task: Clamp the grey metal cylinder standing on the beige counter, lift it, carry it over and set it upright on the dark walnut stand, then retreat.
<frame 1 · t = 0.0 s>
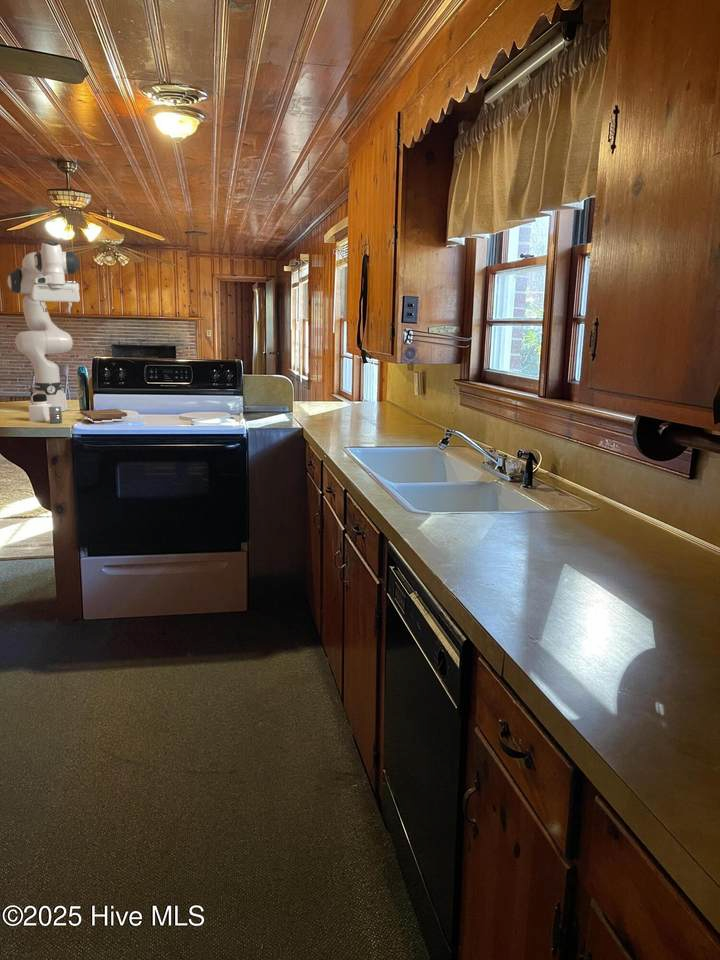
hand: (56, 312, 313), 48 cm above the countertop, fingers open, 8 cm apart
grey metal cylinder: (56, 422, 314), on the countertop
walnut stand: (104, 420, 322), on the countertop
medicine bottle: (41, 420, 320), on the countertop
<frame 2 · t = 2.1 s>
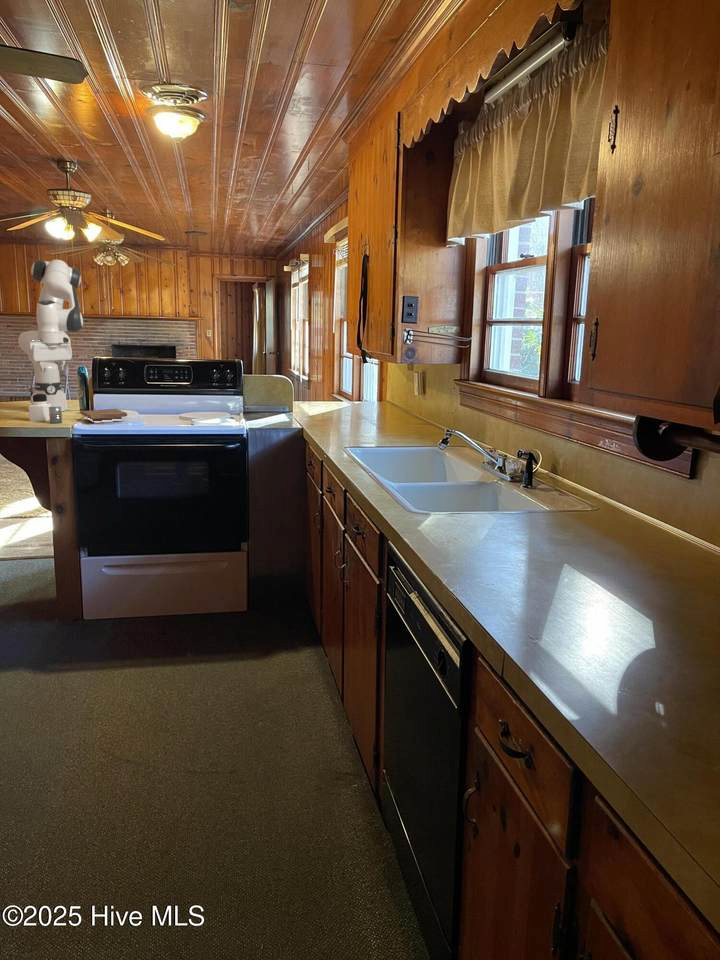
hand: (51, 371, 308), 23 cm above the countertop, fingers open, 8 cm apart
nothing on the countertop moved.
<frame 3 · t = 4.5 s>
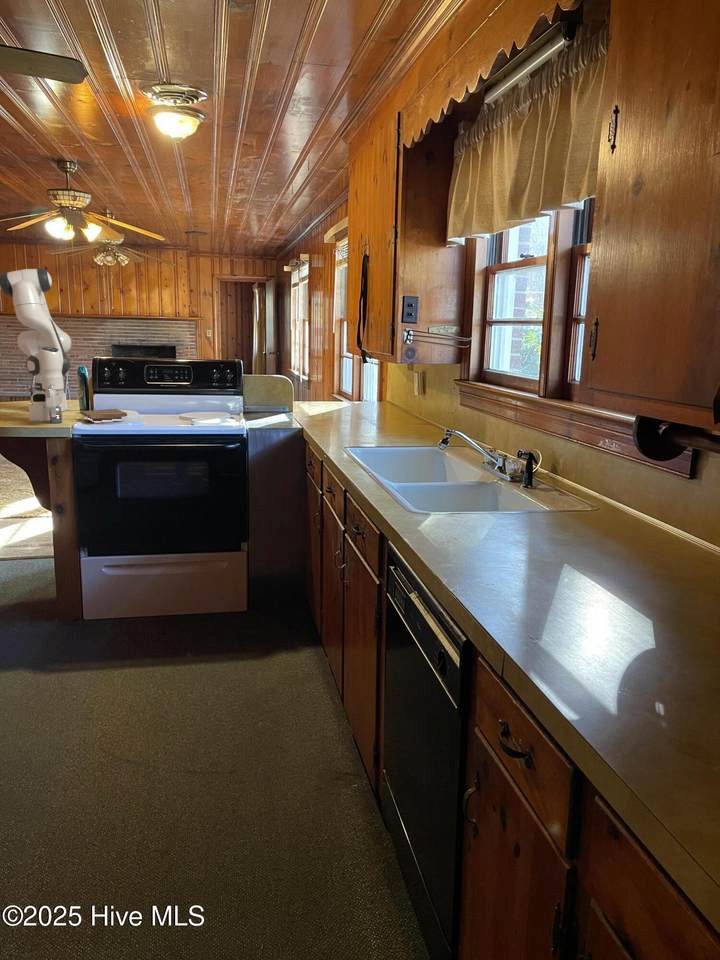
hand: (55, 415, 313), 3 cm above the countertop, fingers closed on grey metal cylinder, 5 cm apart
grey metal cylinder: (56, 422, 314), on the countertop, touching gripper
everything else where it was.
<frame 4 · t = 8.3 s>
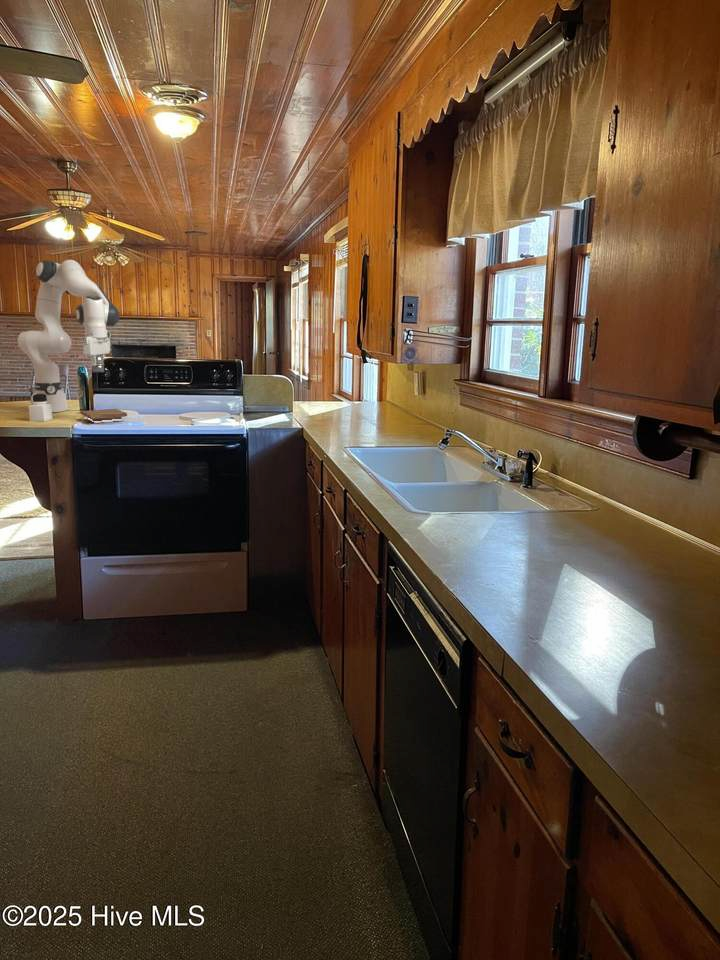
hand: (97, 365, 315), 25 cm above the countertop, fingers closed on grey metal cylinder, 5 cm apart
grey metal cylinder: (98, 372, 316), point 22 cm above the countertop, touching gripper
everything else where it was.
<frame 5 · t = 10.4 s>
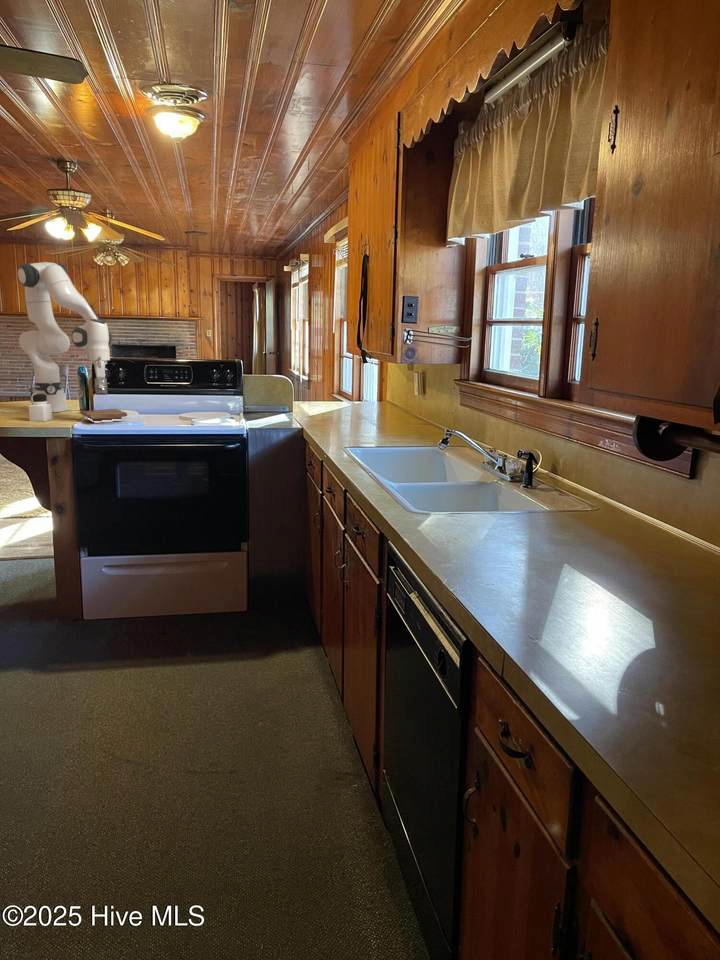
hand: (101, 387, 318), 15 cm above the countertop, fingers closed on grey metal cylinder, 5 cm apart
grey metal cylinder: (101, 394, 318), point 12 cm above the countertop, touching gripper
everything else where it was.
when the fingers open (9 cm above the countertop, at t = 12.2 s): grey metal cylinder drops 1 cm, resting on walnut stand.
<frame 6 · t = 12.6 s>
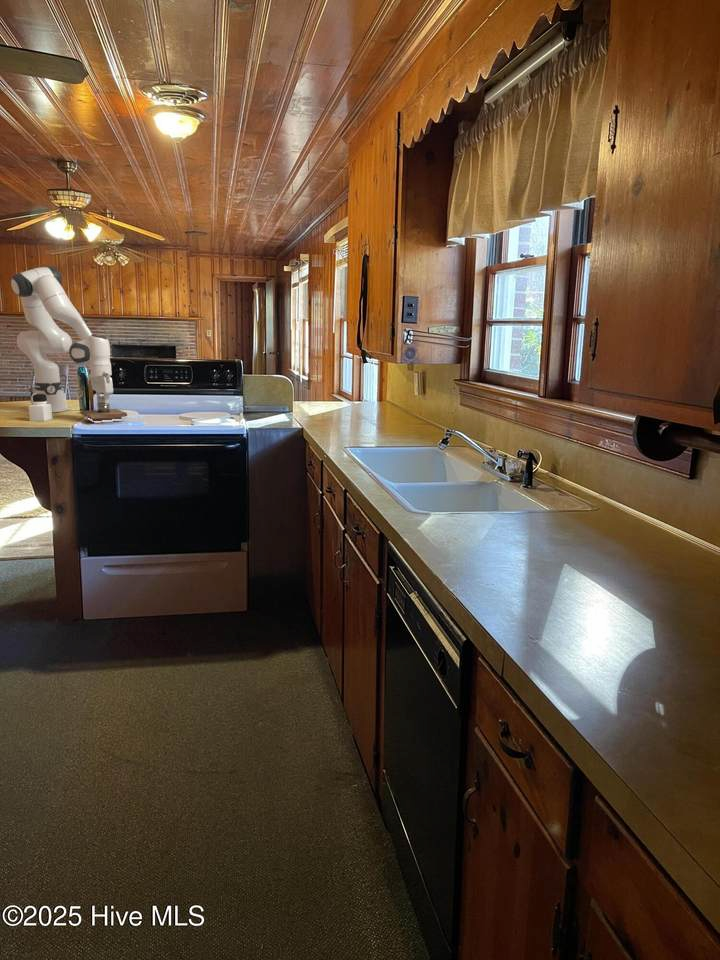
hand: (103, 402, 320), 9 cm above the countertop, fingers open, 8 cm apart
grey metal cylinder: (103, 412, 321), point 4 cm above the countertop, touching walnut stand
everything else where it was.
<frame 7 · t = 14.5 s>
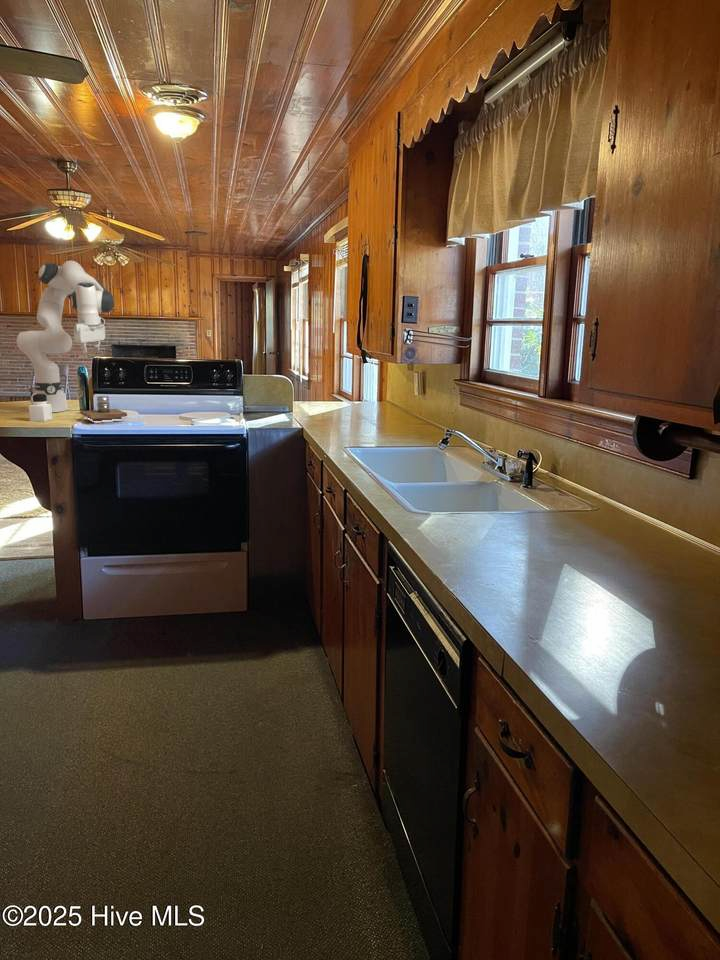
hand: (91, 351, 317), 31 cm above the countertop, fingers open, 8 cm apart
nothing on the countertop moved.
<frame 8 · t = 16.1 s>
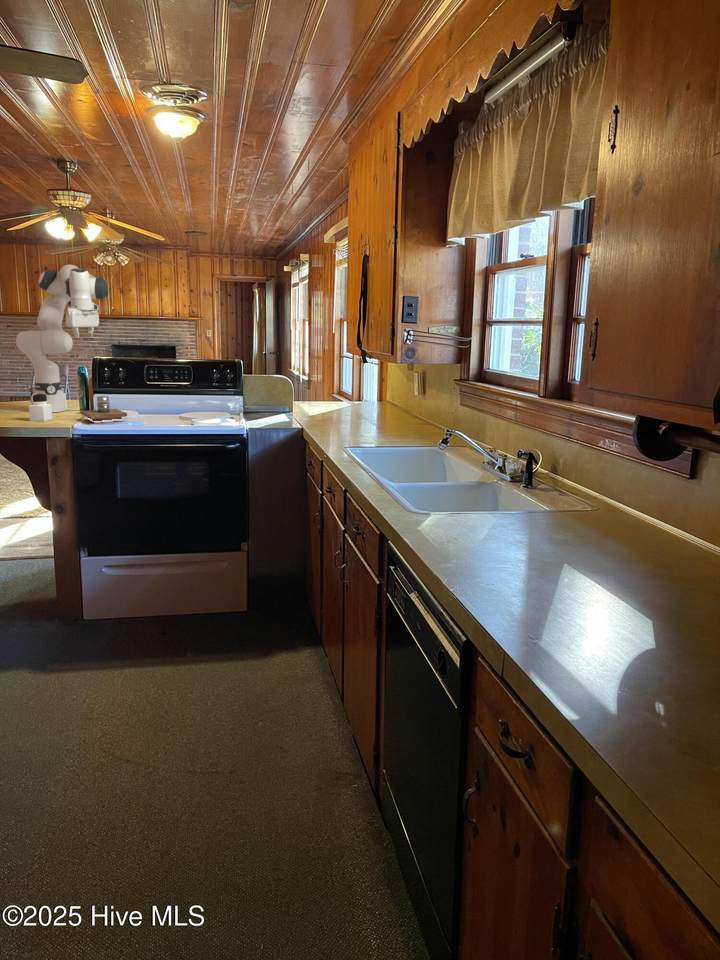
hand: (83, 337, 319), 37 cm above the countertop, fingers open, 8 cm apart
nothing on the countertop moved.
at the end: grey metal cylinder inside the target area on the walnut stand (0.1 cm from its centre), point 4.0 cm above the walnut stand's base; grey metal cylinder tilted 0°; the gripper is holding nothing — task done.
